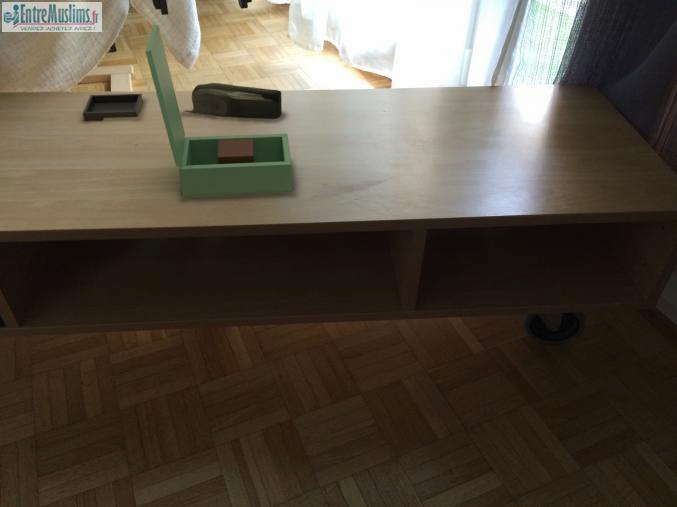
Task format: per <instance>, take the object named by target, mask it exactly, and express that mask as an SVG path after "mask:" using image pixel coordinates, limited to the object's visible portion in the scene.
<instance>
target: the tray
mask: <svg viewBox="0 0 677 507" xmlns="http://www.w3.org/2000/svg"><path fill="white" fill-rule="evenodd" d="M143 103H144V100H143V95H142V93H120V94H119V93H117V94H116V93H115V94H90V96H89V98H88V100H87V103H86V105H85V107H84V110H83V112H82V116H83V120H84V122H95V121H97V122H98V121H104V119H109V118H110V119H111V118H113V119H114V118H138V117H139V113H141V109H142V105H143Z"/></svg>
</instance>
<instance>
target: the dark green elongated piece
mask: <svg viewBox="0 0 677 507" xmlns="http://www.w3.org/2000/svg"><path fill="white" fill-rule="evenodd" d="M191 103H192V109H191V110H184V111H183V113H184V114H201V115H209V116H210V115H211V116H217V117H230V118H243V119H262V120H263V119H265V120H275V119H279V118H280V117H281V116H282V113H283V112H282V107H283V106H282V92H281V90H278V89H269V88H268V89H267V88H261V87H254V86H253V87H252V86H244V85H235V84H229V83H227V84H226V83H221V82H209V83H202V84H197V85H196V86H195V87H194V88H193V90H192V92H191Z"/></svg>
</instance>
